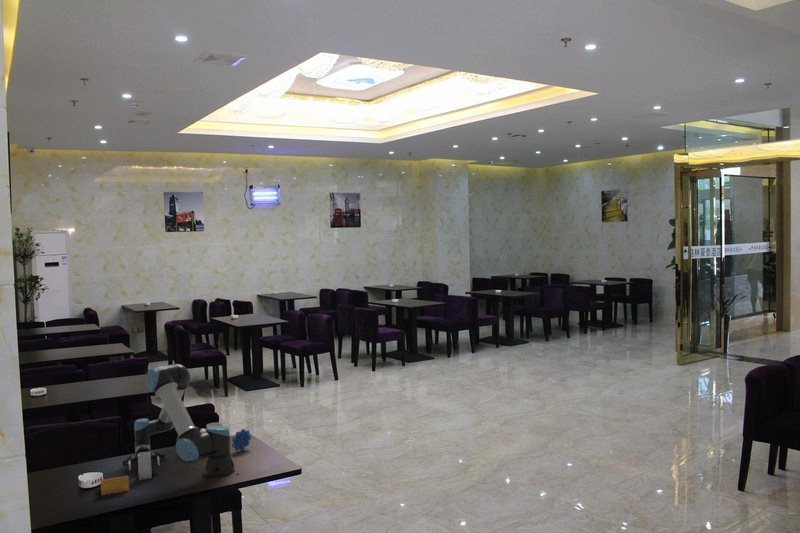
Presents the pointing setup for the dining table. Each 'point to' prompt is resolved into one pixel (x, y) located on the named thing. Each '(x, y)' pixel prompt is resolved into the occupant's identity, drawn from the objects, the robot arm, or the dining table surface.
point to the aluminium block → (144, 465)
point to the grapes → (241, 440)
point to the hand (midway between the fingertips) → (144, 465)
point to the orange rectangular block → (114, 485)
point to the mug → (214, 424)
